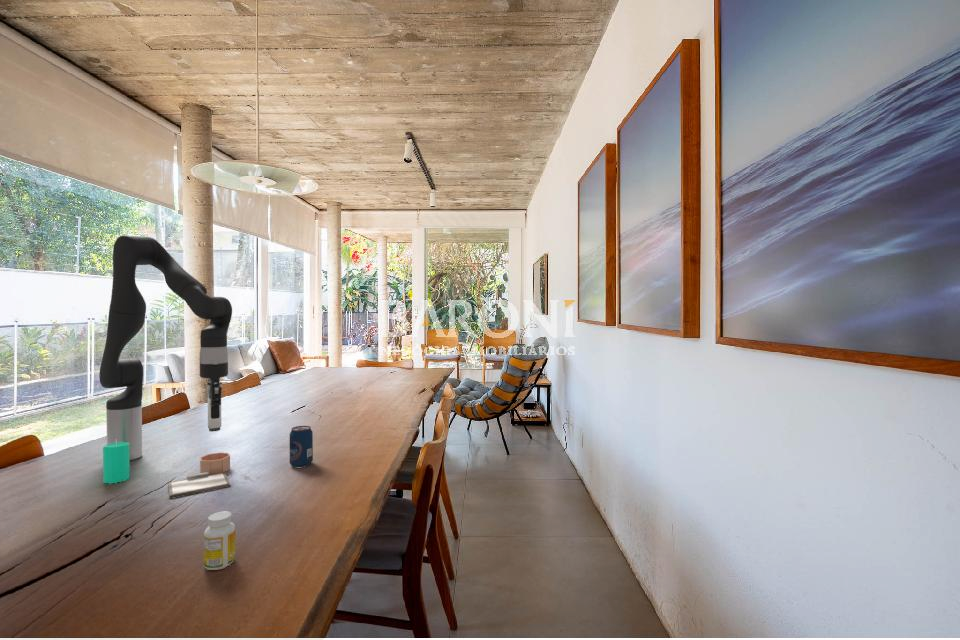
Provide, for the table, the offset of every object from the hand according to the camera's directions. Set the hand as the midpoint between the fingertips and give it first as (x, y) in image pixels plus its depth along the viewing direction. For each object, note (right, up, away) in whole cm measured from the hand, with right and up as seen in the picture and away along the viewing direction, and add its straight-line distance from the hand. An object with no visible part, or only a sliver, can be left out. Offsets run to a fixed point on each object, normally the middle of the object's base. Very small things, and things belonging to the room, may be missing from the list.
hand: (214, 416), depth 137 cm
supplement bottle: (+31, -18, -50) cm, 62 cm away
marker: (0, -4, 0) cm, 4 cm away
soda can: (+24, -17, +6) cm, 30 cm away
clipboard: (+3, -17, -11) cm, 21 cm away
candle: (-24, -17, -7) cm, 31 cm away
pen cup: (0, -17, 0) cm, 17 cm away
